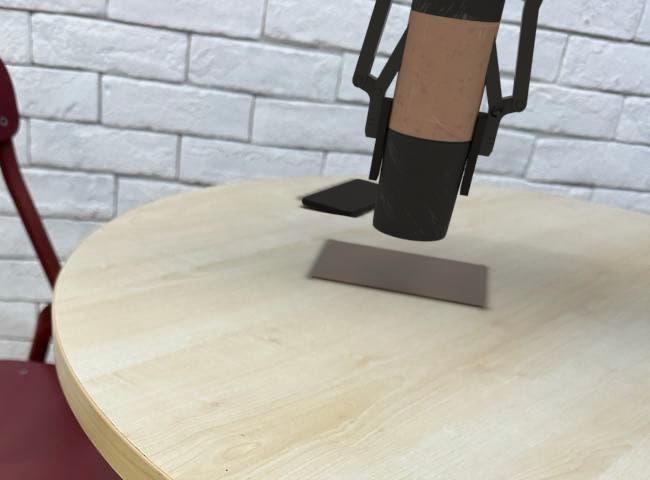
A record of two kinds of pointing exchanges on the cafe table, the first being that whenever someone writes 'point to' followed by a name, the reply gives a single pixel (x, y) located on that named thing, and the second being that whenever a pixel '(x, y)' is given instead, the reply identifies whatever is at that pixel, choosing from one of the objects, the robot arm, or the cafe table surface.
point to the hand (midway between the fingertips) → (418, 184)
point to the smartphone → (345, 198)
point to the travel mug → (434, 115)
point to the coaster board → (402, 273)
